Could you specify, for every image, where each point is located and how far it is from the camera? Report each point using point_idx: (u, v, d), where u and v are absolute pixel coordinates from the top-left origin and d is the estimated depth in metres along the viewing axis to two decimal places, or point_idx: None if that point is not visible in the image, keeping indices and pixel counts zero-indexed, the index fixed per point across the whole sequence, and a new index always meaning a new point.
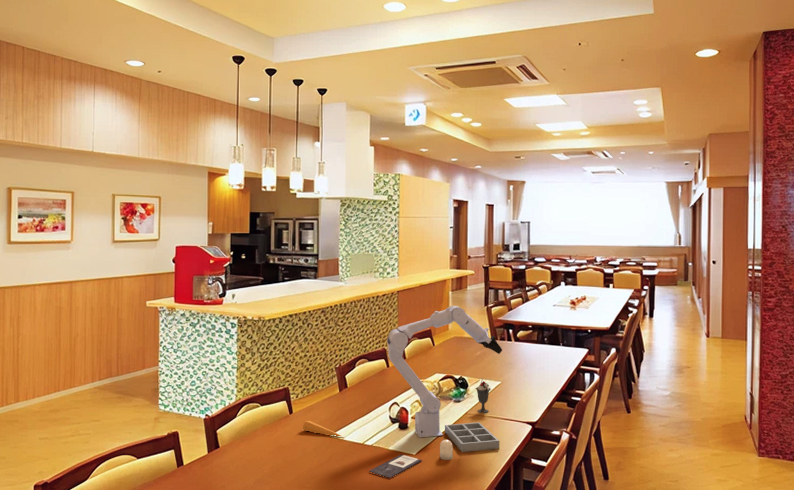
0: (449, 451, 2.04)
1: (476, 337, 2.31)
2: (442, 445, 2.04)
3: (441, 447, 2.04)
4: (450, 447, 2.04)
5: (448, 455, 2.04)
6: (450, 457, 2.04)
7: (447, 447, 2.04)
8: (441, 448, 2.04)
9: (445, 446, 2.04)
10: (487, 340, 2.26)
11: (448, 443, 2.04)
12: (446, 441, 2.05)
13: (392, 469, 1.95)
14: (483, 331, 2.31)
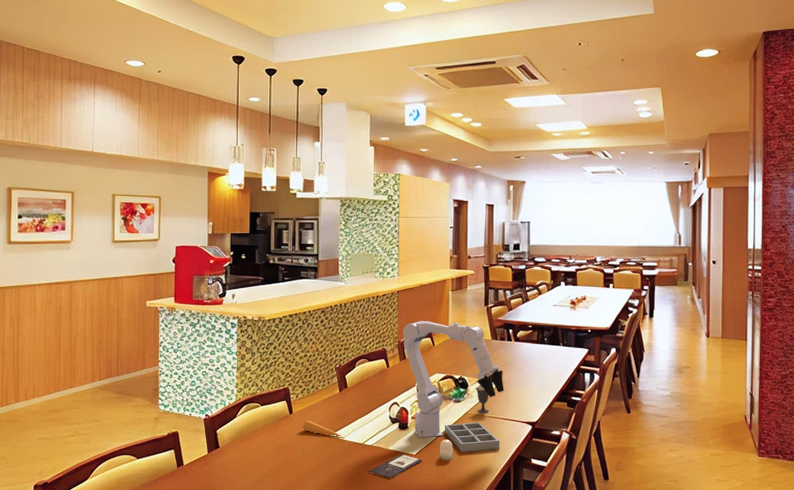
0: (449, 451, 2.04)
1: (479, 368, 2.15)
2: (442, 445, 2.04)
3: (441, 447, 2.04)
4: (450, 447, 2.04)
5: (448, 455, 2.04)
6: (450, 457, 2.04)
7: (447, 447, 2.04)
8: (441, 448, 2.04)
9: (445, 446, 2.04)
10: (479, 375, 2.10)
11: (448, 443, 2.04)
12: (446, 441, 2.05)
13: (392, 469, 1.95)
14: (487, 367, 2.13)
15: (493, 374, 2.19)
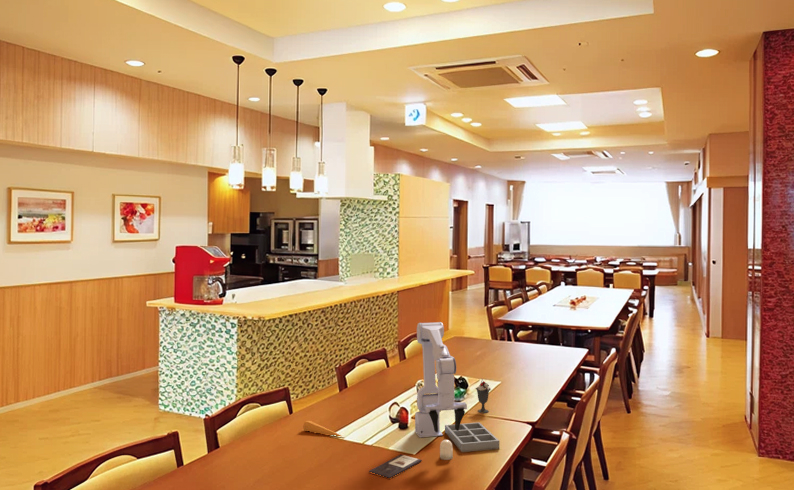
0: (449, 451, 2.04)
1: None
2: (442, 445, 2.04)
3: (441, 447, 2.04)
4: (450, 447, 2.04)
5: (448, 455, 2.04)
6: (450, 457, 2.04)
7: (447, 447, 2.04)
8: (441, 448, 2.04)
9: (445, 446, 2.04)
10: (426, 407, 2.04)
11: (448, 443, 2.04)
12: (446, 441, 2.05)
13: (392, 469, 1.95)
14: (441, 403, 2.03)
15: (456, 410, 2.07)
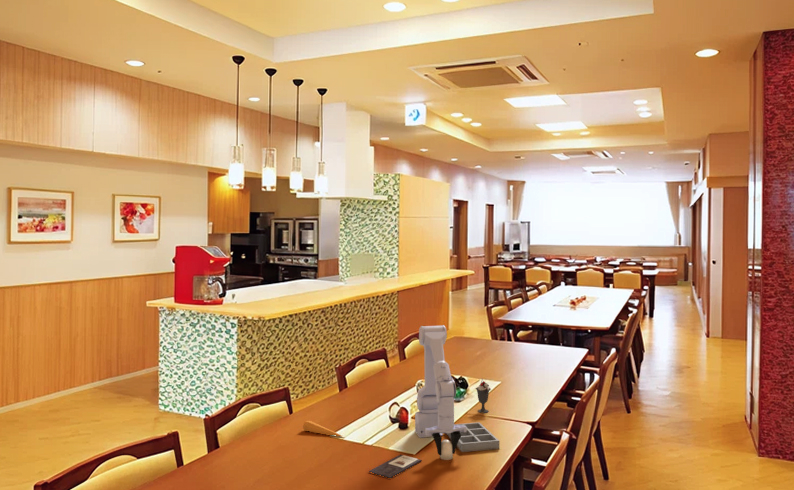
0: (449, 451, 2.04)
1: None
2: (442, 445, 2.04)
3: (441, 447, 2.04)
4: (450, 447, 2.04)
5: (448, 454, 2.04)
6: (450, 457, 2.04)
7: (447, 447, 2.04)
8: (441, 448, 2.04)
9: (445, 446, 2.04)
10: (425, 430, 2.04)
11: (448, 443, 2.04)
12: (446, 441, 2.05)
13: (392, 469, 1.95)
14: (441, 426, 2.03)
15: (452, 433, 2.06)
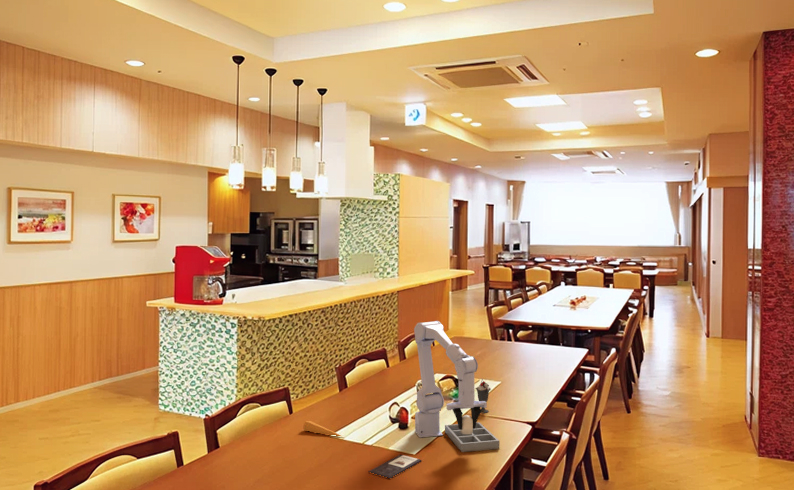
0: (470, 426, 2.09)
1: None
2: (463, 420, 2.10)
3: (462, 422, 2.10)
4: (470, 422, 2.09)
5: (469, 429, 2.09)
6: (471, 432, 2.09)
7: (468, 422, 2.09)
8: (462, 423, 2.10)
9: (466, 421, 2.09)
10: None
11: (469, 418, 2.10)
12: (467, 416, 2.10)
13: (392, 469, 1.95)
14: (462, 401, 2.09)
15: (472, 409, 2.12)
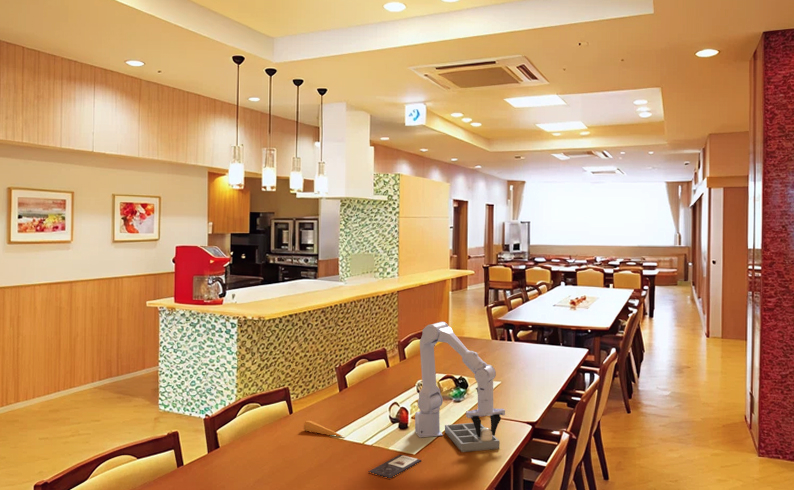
0: (489, 438, 2.14)
1: None
2: (483, 432, 2.15)
3: (482, 434, 2.15)
4: (490, 434, 2.15)
5: None
6: None
7: (488, 434, 2.14)
8: (481, 435, 2.15)
9: (486, 433, 2.14)
10: (466, 413, 2.15)
11: (488, 431, 2.15)
12: (486, 429, 2.15)
13: (392, 469, 1.94)
14: (481, 409, 2.14)
15: (492, 416, 2.17)
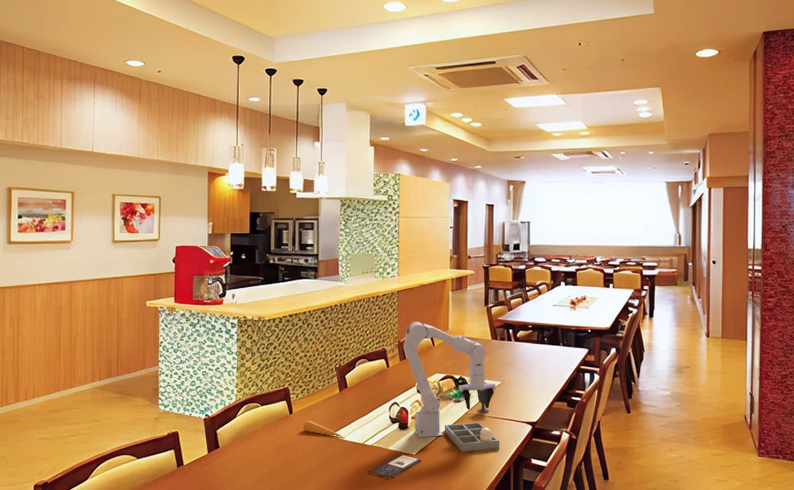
0: (489, 438, 2.14)
1: None
2: (482, 433, 2.15)
3: (481, 435, 2.15)
4: (490, 434, 2.14)
5: None
6: None
7: (487, 434, 2.14)
8: (481, 435, 2.15)
9: (485, 434, 2.14)
10: (459, 387, 2.31)
11: (488, 431, 2.15)
12: (486, 429, 2.15)
13: (392, 469, 1.94)
14: (473, 383, 2.29)
15: (486, 390, 2.33)
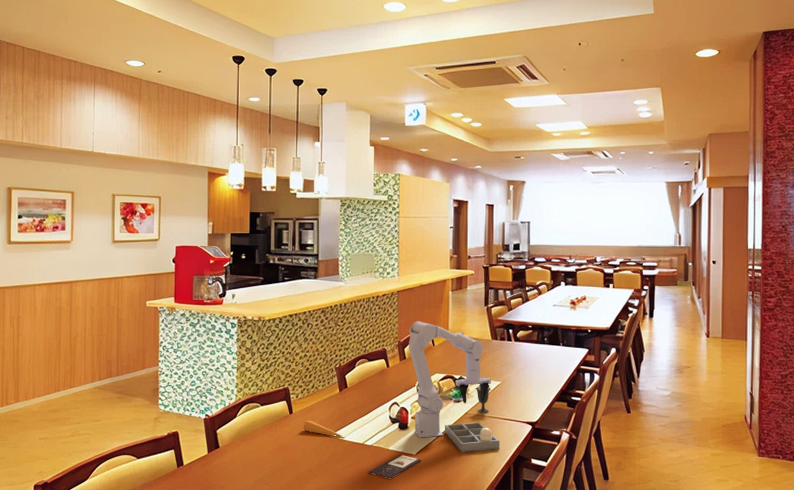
0: (489, 438, 2.14)
1: None
2: (482, 433, 2.15)
3: (481, 435, 2.15)
4: (490, 434, 2.15)
5: None
6: None
7: (487, 434, 2.14)
8: (481, 435, 2.15)
9: (485, 434, 2.14)
10: (456, 382, 2.39)
11: (488, 431, 2.15)
12: (486, 429, 2.15)
13: (392, 469, 1.94)
14: (469, 378, 2.38)
15: (481, 384, 2.41)
